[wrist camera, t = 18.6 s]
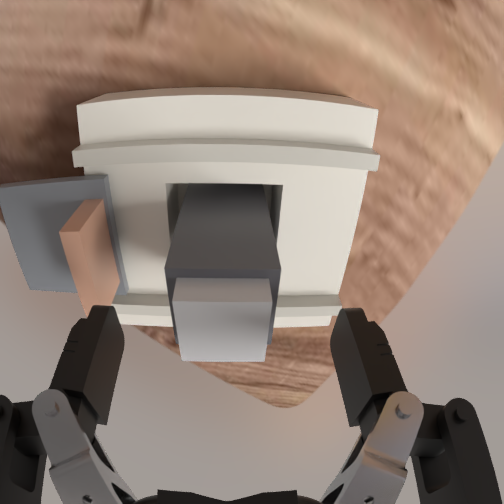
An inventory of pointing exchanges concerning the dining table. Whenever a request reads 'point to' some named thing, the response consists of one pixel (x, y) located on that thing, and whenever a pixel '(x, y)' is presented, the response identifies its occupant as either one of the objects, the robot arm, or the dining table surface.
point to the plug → (223, 273)
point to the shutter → (66, 236)
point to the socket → (232, 171)
